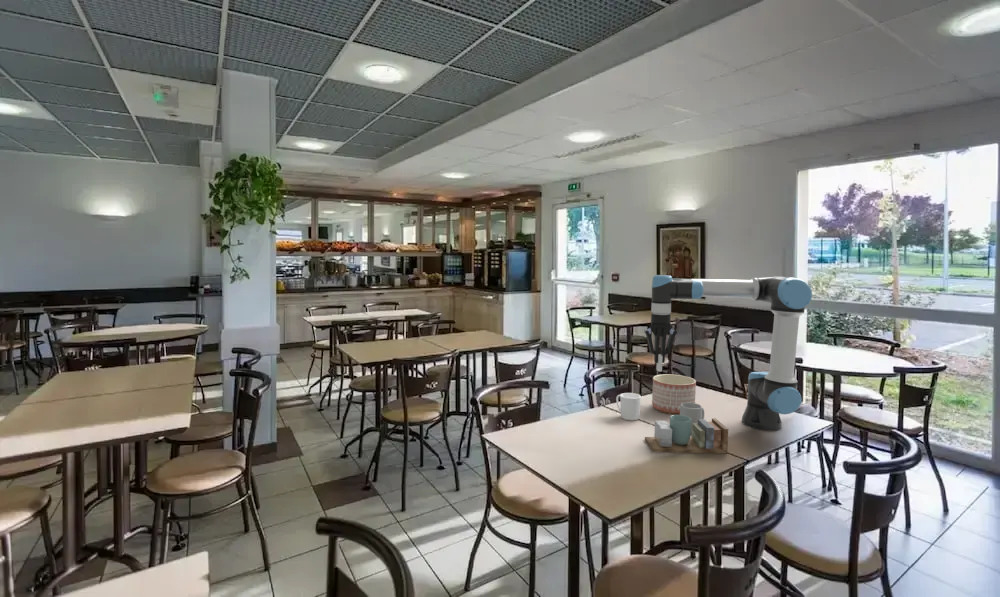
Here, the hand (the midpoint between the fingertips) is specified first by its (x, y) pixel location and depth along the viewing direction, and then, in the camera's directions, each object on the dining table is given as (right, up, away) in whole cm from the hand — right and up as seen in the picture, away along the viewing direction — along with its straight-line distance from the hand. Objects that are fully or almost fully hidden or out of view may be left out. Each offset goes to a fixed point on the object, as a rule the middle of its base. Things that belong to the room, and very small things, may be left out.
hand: (659, 370), depth 200 cm
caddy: (+6, -28, -11) cm, 30 cm away
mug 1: (-7, -25, +22) cm, 34 cm away
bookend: (-2, -26, -11) cm, 28 cm away
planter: (+17, -24, +33) cm, 44 cm away
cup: (+4, -27, -11) cm, 29 cm away
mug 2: (+16, -26, +6) cm, 31 cm away
